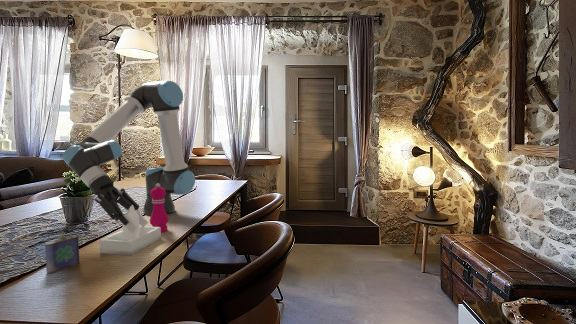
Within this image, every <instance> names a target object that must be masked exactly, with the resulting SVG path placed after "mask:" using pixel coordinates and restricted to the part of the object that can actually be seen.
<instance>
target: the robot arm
mask: <svg viewBox="0 0 576 324" xmlns="http://www.w3.org/2000/svg"><path fill="white" fill-rule="evenodd" d="M182 90H183V89H181V87H180V86H179V85H178V84H177V83H176V82H174V81H173V80H160V81H150V82H145V83H143V84H140V85H139V86H138V87H137V88H135V89H134V90H132V92H130V93H129V94H128V95H127V96H126V97H125V98H124V102H123V103H122V104H121V105H120V106H119V107H117V109H115V110H114V111H113V112H112V113H111V114H110V115H109V116H108V117H107V118H106V119H105V120H104V121H102V122H101V123H100V124H98V126H97V127H96V128H94V130H93V131H91V132H90V133H89V135H87V136H86V137H85V138H84V139H83V140H81V141H78V142H74V143H72V145H70V147H68V148H67V149H65V150H64V152H63V153H62V157H61V158H62V160H63V161H64V162H65V164H66V165H67V167H69V168H70V169H71V170H72V171H73V173H74V174H75V175H76V176H77V177H78V178H79V179H80V180H81V181H82V182H83V184H85V186H87V187H88V188H89V190H90V192H92V193H93V194H94V195H95V198H94V199H93V200H94V201H95V202H96V203H97V204H99V205H100V207H101V208H102V209H103V210H104V211H105V213H106V214H107V215H108V216H109V217H110V218H111V220H115V222H119V221H120V222H121V224H122V226H123V225H125V226H126V227H127V228H128V229H129V230H130V231H131V233H133V232H134V231H135V230H136V229H137V228H138V227H137V226H136V225H135V224H134V223H133V221H132V220H131V219H130V218H129V217H128V216H127V215H126V213H123V211H122V209H121V208H120V206H119V205H121V207H123V208H124V209H125V210H126V211H128V210H129V208H130V207H131V205H133V206H134V209H135V211H136V212H137V214H138V216H139V226H142V227H145V226H147V225H148V223H149V221H148V220H147V219H146V218H145V217H144V216H143V215H142V213H141V212H140V211H139V208H140V205H139V204H138V203H137V202H136V201H135V200H134V199H133V198H132V197H131V196H130V195H129V193H127V192H126V190H125V188H121V189H118V188H117V187H115V186H114V180H113V179H111V177H110V176H109V175H107V172H105V170H103V168H101V166H102V165H105V164H107V163H109V162H111V161H114V160H116V159H118V158H120V157H121V156H122V154H123V150H122V146H121V144H119V142H118V141H116V140H114V138H115V137H116V136H117V135H118V134H120V132H121V131H122V130H123V129H124V128H126V126H127V125H128V124H129V123H130V122H131V121H132V120H134V119H135V117H137V116H138V115H140V114H143V113H144V112H145V111H146V110H148V109H151V108H152V111H153V113H154V114H155V115H156V116H157V118H158V124H159V126H158V127H159V131H160V132H159V133H160V138H161V144H162V145H161V146H162V150H163V156H164V162H165V163H164V164H165V165H164V166H159V167H153V168H152V167H151V168H147V169H146V171H145V190H146V198H145V201H144V203H145V204H144V205H143V209H142V210H143V214H144V215H148V216H151V215H152V212H153V203H152V199H153V198H152V197H151V195H150V192H151V190H152V189H153V188H155V187H156V184H157V183H159V184H160V187H162V188H164V189H165V191H166V195H165V197H164V199H165V202H164V209H165V212H166V214H167V215H168V214H172V213H174V212H175V211H176V205H175V203H174V200H173V197H172V195H178V196H180V195H182V196H183V195H188V194H189V193H190V192H191V191H192V190H193V188H194V187H195V184H196V176H195V174H194V173H193V171H190V170H189V165H188V164H187V163H186V162H185V159H184V150H183V145H182V139H181V138H182V137H181V132H180V125H179V124H180V123H179V118H178V112H180V110H181V109H180V105H181V104H182V103H183V101H184V95H183V94H184V93H183V91H182Z"/></svg>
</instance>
